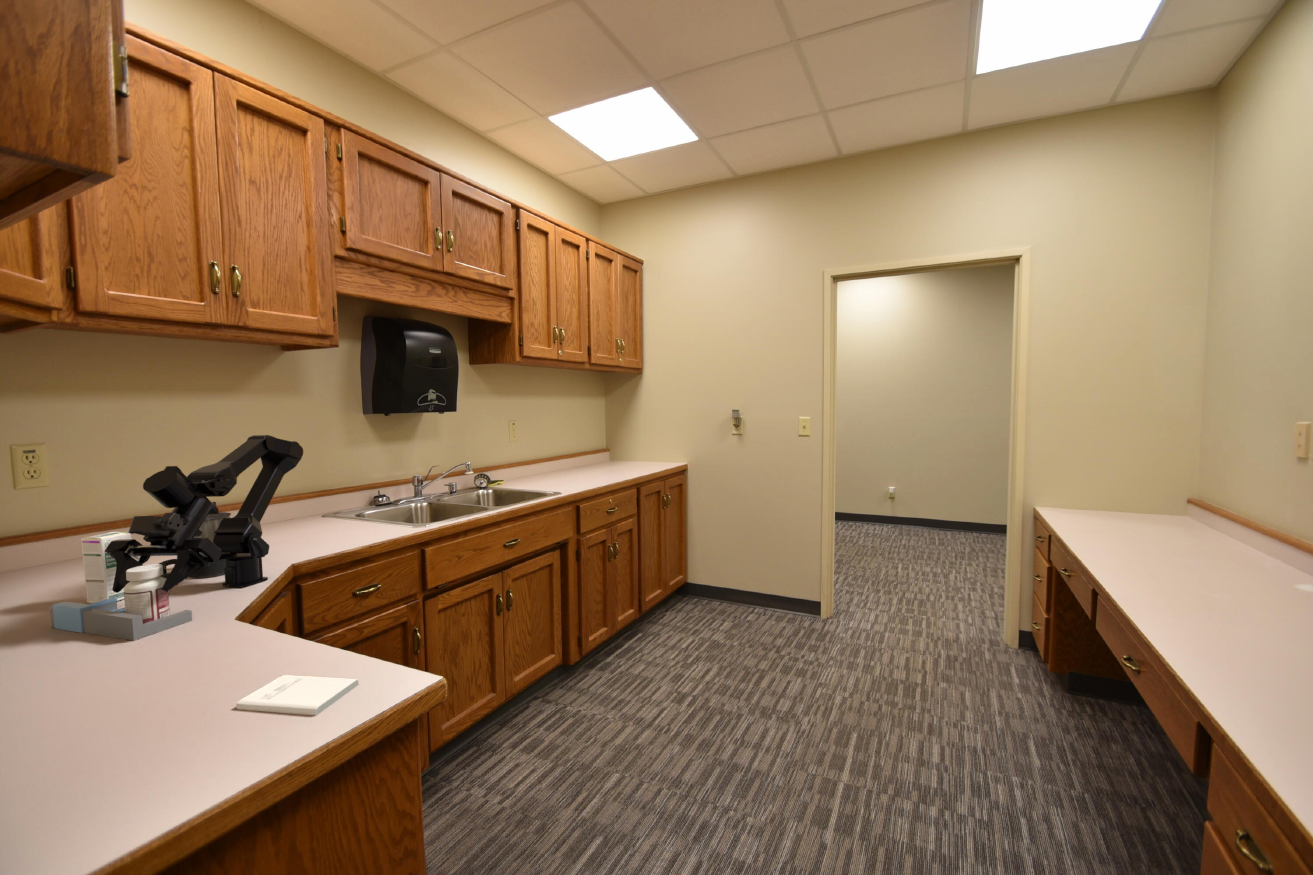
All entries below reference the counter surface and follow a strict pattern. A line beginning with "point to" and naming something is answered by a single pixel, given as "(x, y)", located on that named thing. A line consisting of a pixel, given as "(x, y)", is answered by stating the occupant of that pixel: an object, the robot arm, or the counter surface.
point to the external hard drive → (298, 694)
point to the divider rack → (110, 620)
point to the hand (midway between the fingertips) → (139, 591)
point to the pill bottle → (146, 592)
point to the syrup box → (100, 566)
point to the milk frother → (208, 532)
